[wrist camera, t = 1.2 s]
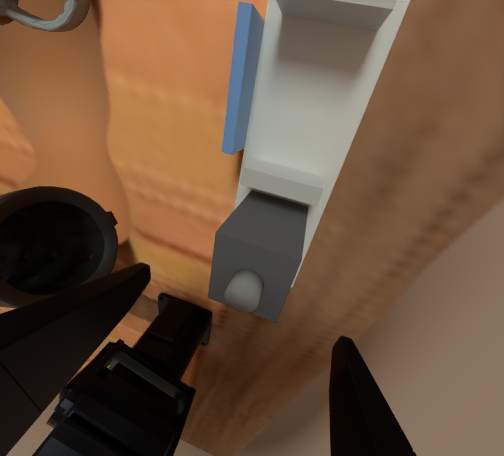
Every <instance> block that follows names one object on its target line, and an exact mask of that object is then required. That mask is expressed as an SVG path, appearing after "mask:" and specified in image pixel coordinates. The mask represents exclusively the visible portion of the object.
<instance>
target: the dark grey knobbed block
mask: <svg viewBox="0 0 504 456" xmlns="http://www.w3.org/2000/svg"><path fill="white" fill-rule="evenodd" d="M308 208H309V206H305V205H302V204H299V203H295V202H292V201H288V200H285V199H281V198H278V197H274V196H271V195H267V194H264V193H260V192H257V191H254V190H251V191H250V193H249V194H248V195H247V196H246V197H245V198H244V200H243V201H242V202H241V203H240V204H239V206H238V207H237V208H236V209H235V210H234V211H233V213H232V214H231V215H230V216H229V217H228V218H227V220H226V221H225V222H224V223H223V224H222V226H221V227H220V228H219V229H218V230H217V231H216V235H215V243H214V252H213V260H212V269H211V277H210V285H209V294H208V298H210V299H213V300H215V301H218V302H221V303H223V304H226V305H229V306H231V307H232V308H233V309H235V310H237V311H240V312H246V313H250V314H253V315H255V316H258V317H261V318H263V319H266V320H269V321H271V322H274V323H276V322H277V320H278V318H279V315H280V313H281V310H282V308H283V305H284V303H285V300H286V298H287V295H288V293H289V290H290V288H291V286H292V283H293V281H294V278H295V276H296V273H297V271H298V268H299V266H300V263H301V261H302V254H303V247H304V239H305V231H306V224H307V216H308Z"/></svg>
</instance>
